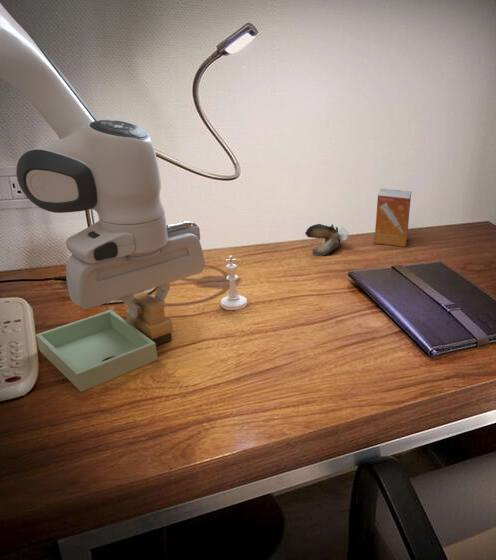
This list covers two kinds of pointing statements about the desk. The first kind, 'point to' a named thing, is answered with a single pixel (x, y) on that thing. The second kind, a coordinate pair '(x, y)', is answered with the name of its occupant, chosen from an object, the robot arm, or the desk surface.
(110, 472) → the desk surface
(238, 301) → the chess piece
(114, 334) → the tray
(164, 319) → the brush
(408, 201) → the small box
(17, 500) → the desk surface
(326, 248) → the grey brown curved piece
